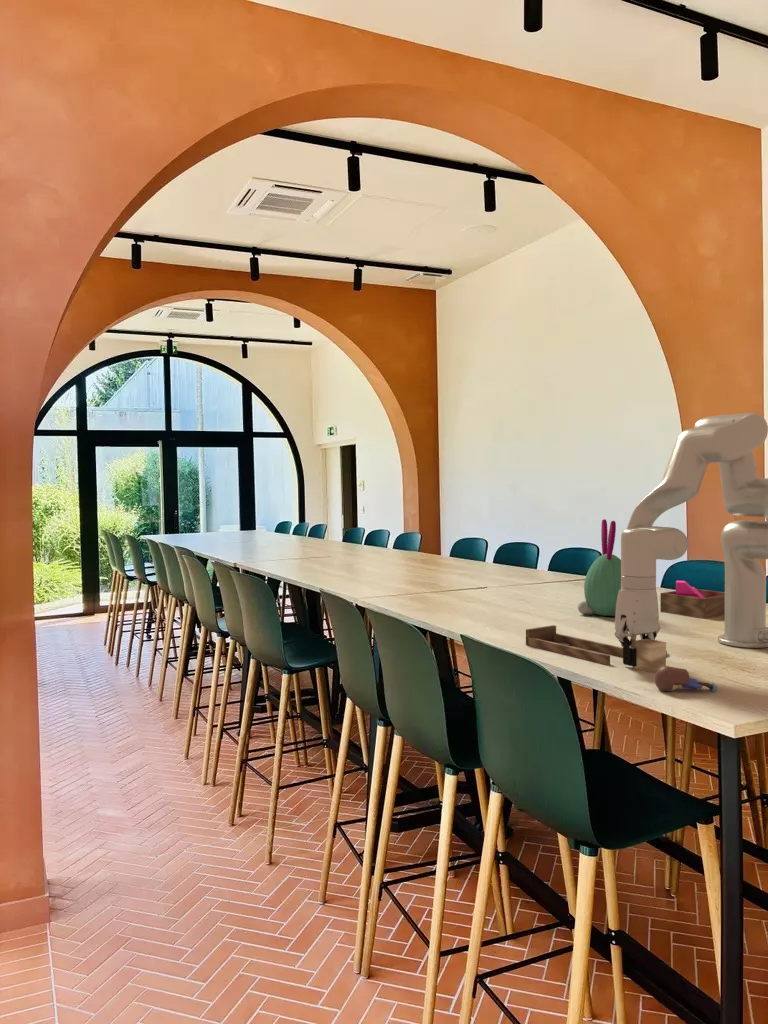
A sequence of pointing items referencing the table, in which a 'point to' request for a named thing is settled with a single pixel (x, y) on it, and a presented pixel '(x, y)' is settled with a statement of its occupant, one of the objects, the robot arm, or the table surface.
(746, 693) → the table surface
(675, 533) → the robot arm
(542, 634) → the channel
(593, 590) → the toy
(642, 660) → the block
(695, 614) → the display box
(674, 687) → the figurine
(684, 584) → the bracket
